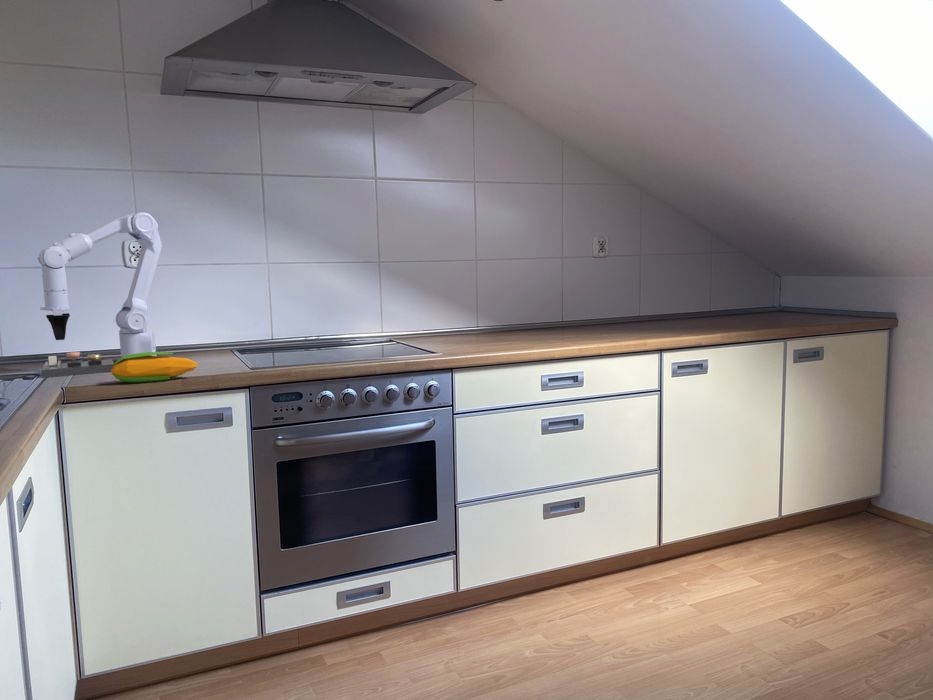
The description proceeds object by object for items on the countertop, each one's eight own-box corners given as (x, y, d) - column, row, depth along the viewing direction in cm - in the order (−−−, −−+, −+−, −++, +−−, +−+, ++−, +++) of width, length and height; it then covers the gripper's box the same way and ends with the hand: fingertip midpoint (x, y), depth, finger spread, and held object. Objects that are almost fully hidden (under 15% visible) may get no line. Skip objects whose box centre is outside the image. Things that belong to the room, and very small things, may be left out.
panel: (112, 366, 199) (111, 355, 199) (114, 371, 190) (113, 360, 189) (43, 371, 191) (42, 361, 191) (42, 377, 182) (41, 366, 181)
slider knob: (57, 363, 190) (56, 355, 190) (56, 364, 189) (56, 356, 188) (49, 364, 189) (48, 356, 189) (49, 365, 188) (48, 357, 187)
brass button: (101, 361, 194) (100, 353, 194) (101, 362, 191) (100, 355, 191) (88, 362, 193) (87, 354, 192) (88, 363, 190) (87, 356, 190)
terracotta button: (80, 358, 192) (79, 351, 191) (80, 360, 189) (79, 352, 189) (67, 359, 190) (66, 352, 190) (67, 361, 187) (66, 353, 187)
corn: (110, 351, 173) (196, 346, 181) (113, 381, 174) (198, 374, 182) (108, 357, 166) (197, 351, 174) (111, 388, 168) (199, 381, 175)
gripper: (39, 290, 195) (43, 338, 197) (38, 292, 183) (43, 343, 184) (68, 289, 199) (72, 336, 200) (68, 291, 186) (73, 341, 188)
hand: (60, 339), depth 193 cm, fingers closed
